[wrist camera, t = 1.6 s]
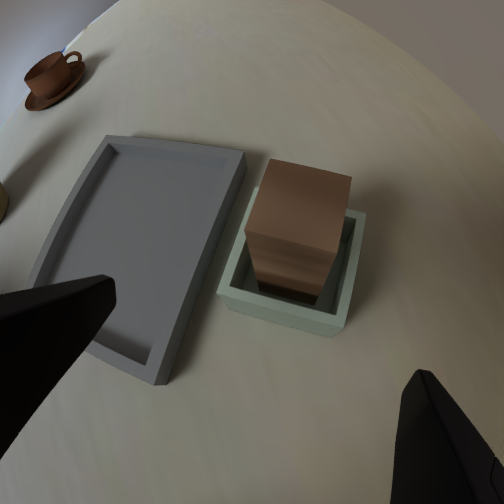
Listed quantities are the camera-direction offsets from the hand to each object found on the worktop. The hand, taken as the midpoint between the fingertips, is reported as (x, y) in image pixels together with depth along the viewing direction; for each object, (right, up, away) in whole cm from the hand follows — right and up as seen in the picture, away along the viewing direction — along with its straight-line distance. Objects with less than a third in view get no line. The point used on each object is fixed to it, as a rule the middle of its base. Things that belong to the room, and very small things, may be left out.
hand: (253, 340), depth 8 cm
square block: (+3, +1, +14) cm, 15 cm away
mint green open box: (+3, +1, +15) cm, 15 cm away
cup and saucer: (-32, +29, +30) cm, 53 cm away
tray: (-10, +3, +17) cm, 20 cm away
